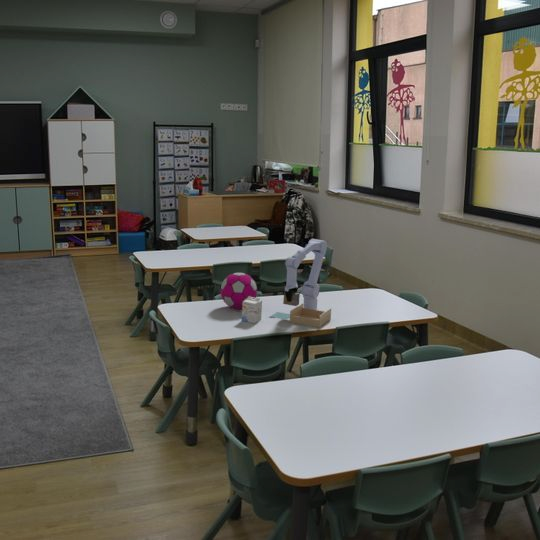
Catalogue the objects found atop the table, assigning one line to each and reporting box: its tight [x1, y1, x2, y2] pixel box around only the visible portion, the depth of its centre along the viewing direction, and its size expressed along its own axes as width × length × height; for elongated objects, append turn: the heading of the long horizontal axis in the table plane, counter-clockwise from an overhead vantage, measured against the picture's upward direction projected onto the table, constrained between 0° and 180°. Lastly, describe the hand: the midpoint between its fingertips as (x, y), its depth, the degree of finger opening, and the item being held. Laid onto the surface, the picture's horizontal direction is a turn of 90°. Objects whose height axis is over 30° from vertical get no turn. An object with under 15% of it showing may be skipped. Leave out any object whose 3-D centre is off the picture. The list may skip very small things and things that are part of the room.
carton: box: [289, 303, 332, 328], centre depth 389 cm, size 18×18×7 cm
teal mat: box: [269, 311, 290, 321], centre depth 397 cm, size 11×11×1 cm
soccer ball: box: [220, 272, 258, 310], centre depth 408 cm, size 22×22×22 cm
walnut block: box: [283, 291, 301, 307], centre depth 392 cm, size 4×8×7 cm, turn 66°
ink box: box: [241, 296, 263, 324], centre depth 386 cm, size 9×8×13 cm
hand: (290, 300), depth 393 cm, fingers closed on walnut block, 4 cm apart
